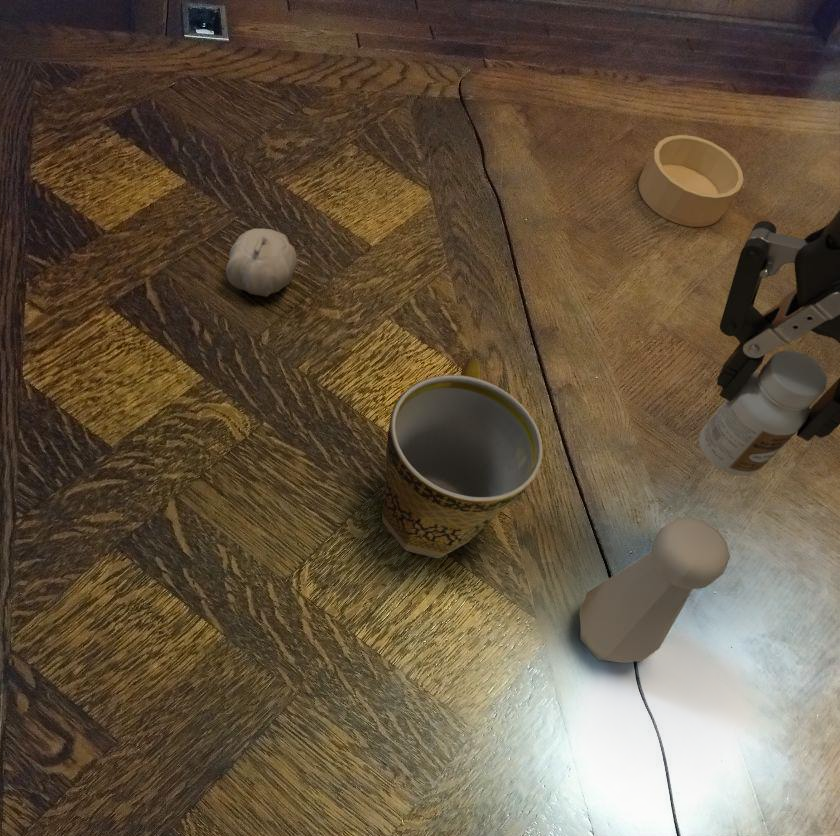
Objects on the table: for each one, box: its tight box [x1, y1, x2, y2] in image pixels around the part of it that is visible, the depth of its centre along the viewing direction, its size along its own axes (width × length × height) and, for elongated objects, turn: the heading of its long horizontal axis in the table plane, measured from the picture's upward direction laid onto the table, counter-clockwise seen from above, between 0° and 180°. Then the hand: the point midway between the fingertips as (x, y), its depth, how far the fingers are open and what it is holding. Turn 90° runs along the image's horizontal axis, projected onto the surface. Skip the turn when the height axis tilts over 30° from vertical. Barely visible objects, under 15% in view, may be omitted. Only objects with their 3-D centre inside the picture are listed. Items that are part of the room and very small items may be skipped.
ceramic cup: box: [381, 357, 544, 559], centre depth 68 cm, size 13×10×10 cm
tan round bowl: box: [637, 134, 744, 228], centre depth 93 cm, size 9×9×4 cm
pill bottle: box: [698, 349, 828, 477], centre depth 60 cm, size 4×4×8 cm
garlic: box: [225, 227, 297, 297], centre depth 78 cm, size 6×5×5 cm
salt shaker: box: [578, 515, 731, 664], centre depth 63 cm, size 6×6×13 cm
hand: (766, 408), depth 60 cm, fingers closed on pill bottle, 4 cm apart
